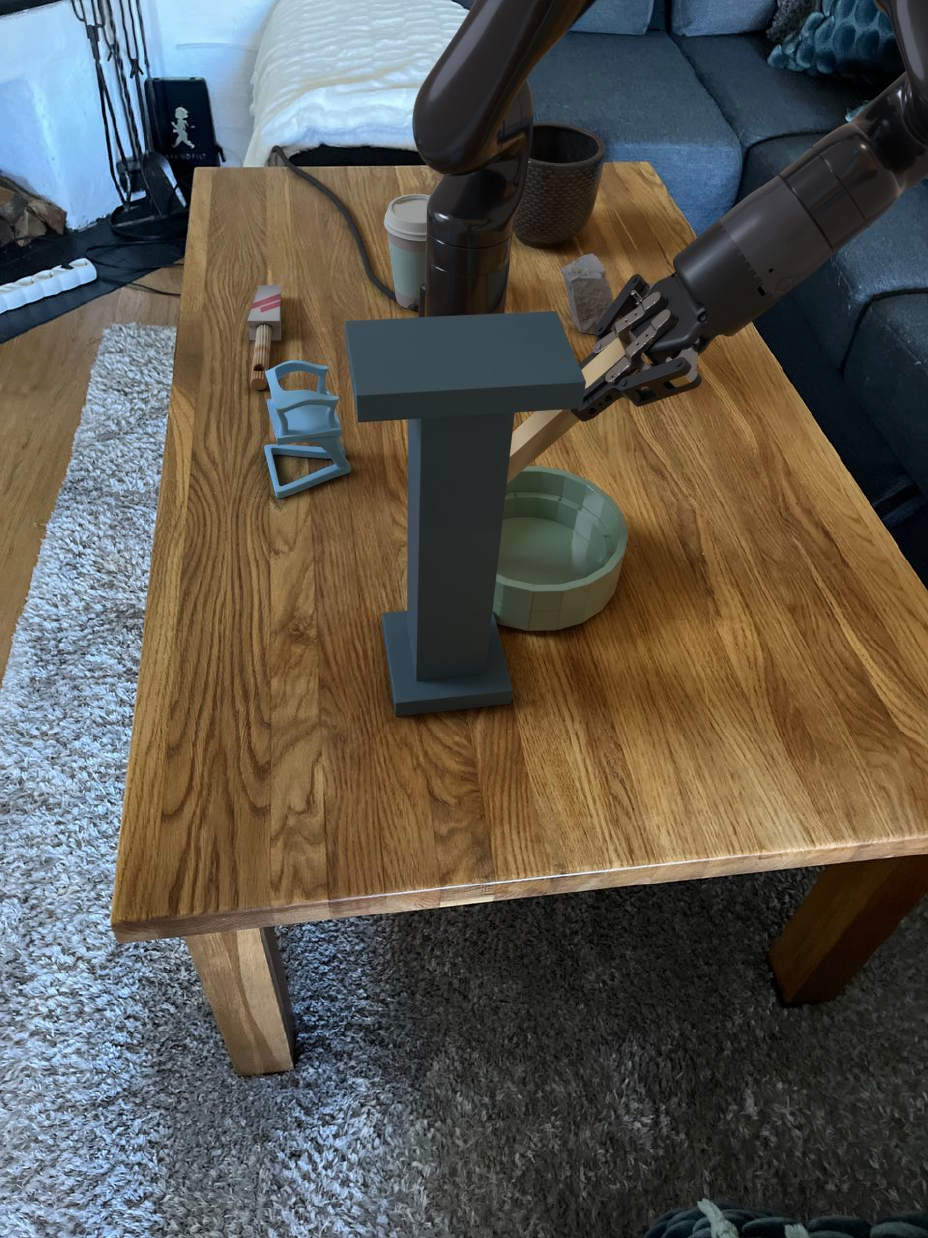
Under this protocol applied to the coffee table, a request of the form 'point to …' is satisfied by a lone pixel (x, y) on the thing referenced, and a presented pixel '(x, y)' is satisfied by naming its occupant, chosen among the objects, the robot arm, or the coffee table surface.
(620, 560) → the bowl
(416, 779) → the coffee table surface
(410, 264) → the coffee cup
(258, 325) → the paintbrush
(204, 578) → the coffee table surface
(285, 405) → the chair
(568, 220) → the planter
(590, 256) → the mineral specimen
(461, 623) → the lectern stand
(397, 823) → the coffee table surface
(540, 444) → the wooden mallet
